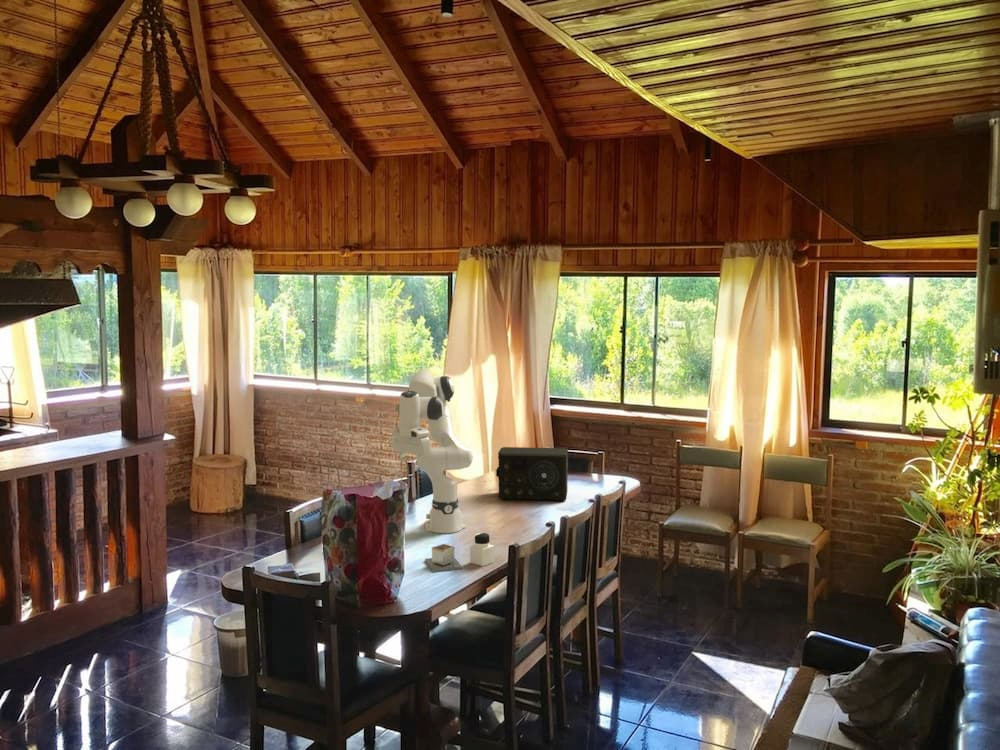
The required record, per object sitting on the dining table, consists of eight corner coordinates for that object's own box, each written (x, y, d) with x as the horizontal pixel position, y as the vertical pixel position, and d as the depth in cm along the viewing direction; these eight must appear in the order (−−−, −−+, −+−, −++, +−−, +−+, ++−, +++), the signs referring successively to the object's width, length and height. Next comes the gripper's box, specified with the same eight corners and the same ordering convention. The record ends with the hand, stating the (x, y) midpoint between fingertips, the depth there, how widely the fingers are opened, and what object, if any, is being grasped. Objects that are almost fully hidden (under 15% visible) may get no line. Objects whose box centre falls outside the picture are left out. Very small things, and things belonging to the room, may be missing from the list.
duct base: (424, 561, 359) (424, 548, 358) (453, 558, 362) (453, 545, 362) (432, 572, 346) (432, 559, 345) (461, 568, 349) (461, 555, 349)
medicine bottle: (494, 562, 357) (494, 533, 356) (482, 566, 352) (482, 537, 351) (481, 558, 362) (481, 530, 361) (469, 562, 357) (469, 534, 355)
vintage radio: (494, 501, 453) (493, 454, 450) (498, 492, 472) (498, 446, 469) (566, 503, 448) (566, 455, 445) (568, 494, 467) (568, 448, 464)
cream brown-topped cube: (431, 561, 354) (431, 547, 353) (443, 557, 359) (443, 543, 358) (443, 565, 349) (442, 550, 349) (454, 561, 354) (454, 547, 353)
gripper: (388, 428, 367) (388, 460, 368) (420, 434, 353) (421, 467, 355) (399, 426, 372) (400, 458, 373) (432, 432, 358) (432, 465, 359)
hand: (410, 463), depth 364 cm, fingers open, 8 cm apart
